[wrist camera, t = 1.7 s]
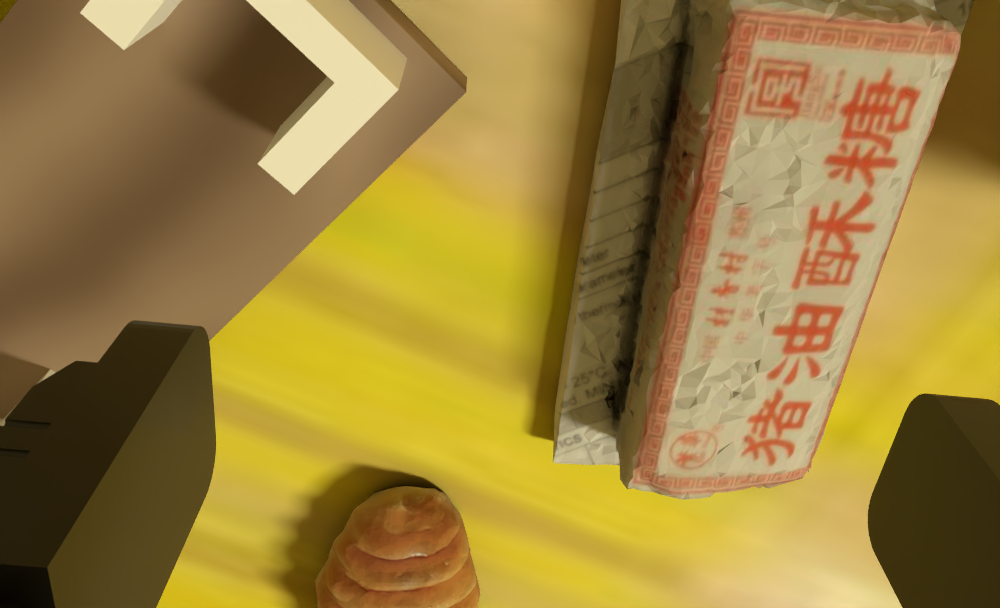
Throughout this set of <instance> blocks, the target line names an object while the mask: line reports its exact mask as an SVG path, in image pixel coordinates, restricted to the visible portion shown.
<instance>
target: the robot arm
mask: <svg viewBox="0 0 1000 608" xmlns="http://www.w3.org/2000/svg"><path fill="white" fill-rule="evenodd" d="M215 453H216V432H215V417H214V402H213V388H212V373H211V358H210V345H209V339H208V335H207V332H206V330H205V328H204V327H202V326H194V325H183V324H172V323H161V322H150V321H139V320H133V321H131V322H129V323H128V324H127V325H126V326H125V327H124V329H123V330H122V331H121V332H120V334H119V335H118V336H117V338H116V339H115V340H114V342H113V343H112V344H111V346H110V347H109V348H108V350H107V351H106V352H105V353H104V355H103V356H102V357H101V359H100V360H99V361H98V363H97V362H86V361H74V362H73V363H71V364H69V365H68V366H66V367H64V368H63V369H61V370H59V371H58V372H56V373H54V374H53V375H51V376H49V377H48V378H46V379H44V380H43V381H41V382H39V383H38V384H36V385H34V386H33V387H32V388H31V389H30V390H29V391H28V393H27V394H26V395H25V396H24V397H23V399H22V400H21V401H20V402H19V403H18V404H17V406H16V407H15V408H14V409H13V410H12V412H11V413H10V414H9V415H8V416H7V417H6V419H5V425H4V426H0V608H156V607H157V604H158V602H159V600H160V598H161V595H162V593H163V591H164V589H165V586H166V584H167V582H168V580H169V577H170V575H171V573H172V571H173V569H174V566H175V564H176V562H177V560H178V557H179V555H180V553H181V551H182V548H183V546H184V544H185V542H186V539H187V537H188V535H189V533H190V530H191V528H192V526H193V524H194V522H195V519H196V517H197V515H198V513H199V510H200V508H201V506H202V504H203V501H204V499H205V497H206V494H207V492H208V489H209V486H210V482H211V478H212V474H213V468H214V462H215ZM868 530H869V537H870V541H871V545H872V548H873V550H874V552H875V555H876V557H877V559H878V561H879V562H880V564H881V566H882V568H883V570H884V572H885V574H886V576H887V578H888V580H889V582H890V584H891V586H892V588H893V590H894V592H895V594H896V596H897V598H898V600H899V602H900V604H901V606H902V607H903V608H1000V405H999V404H998V403H996V402H994V401H992V400H989V399H980V398H969V397H958V396H947V395H936V394H921V395H919V396H917V397H916V398H914V399H913V400H912V402H911V403H910V404H909V406H908V408H907V410H906V412H905V414H904V417H903V419H902V422H901V424H900V427H899V429H898V432H897V434H896V436H895V439H894V441H893V444H892V446H891V449H890V451H889V454H888V456H887V459H886V461H885V464H884V466H883V469H882V471H881V473H880V476H879V478H878V481H877V483H876V486H875V488H874V491H873V493H872V496H871V499H870V504H869V510H868Z"/></svg>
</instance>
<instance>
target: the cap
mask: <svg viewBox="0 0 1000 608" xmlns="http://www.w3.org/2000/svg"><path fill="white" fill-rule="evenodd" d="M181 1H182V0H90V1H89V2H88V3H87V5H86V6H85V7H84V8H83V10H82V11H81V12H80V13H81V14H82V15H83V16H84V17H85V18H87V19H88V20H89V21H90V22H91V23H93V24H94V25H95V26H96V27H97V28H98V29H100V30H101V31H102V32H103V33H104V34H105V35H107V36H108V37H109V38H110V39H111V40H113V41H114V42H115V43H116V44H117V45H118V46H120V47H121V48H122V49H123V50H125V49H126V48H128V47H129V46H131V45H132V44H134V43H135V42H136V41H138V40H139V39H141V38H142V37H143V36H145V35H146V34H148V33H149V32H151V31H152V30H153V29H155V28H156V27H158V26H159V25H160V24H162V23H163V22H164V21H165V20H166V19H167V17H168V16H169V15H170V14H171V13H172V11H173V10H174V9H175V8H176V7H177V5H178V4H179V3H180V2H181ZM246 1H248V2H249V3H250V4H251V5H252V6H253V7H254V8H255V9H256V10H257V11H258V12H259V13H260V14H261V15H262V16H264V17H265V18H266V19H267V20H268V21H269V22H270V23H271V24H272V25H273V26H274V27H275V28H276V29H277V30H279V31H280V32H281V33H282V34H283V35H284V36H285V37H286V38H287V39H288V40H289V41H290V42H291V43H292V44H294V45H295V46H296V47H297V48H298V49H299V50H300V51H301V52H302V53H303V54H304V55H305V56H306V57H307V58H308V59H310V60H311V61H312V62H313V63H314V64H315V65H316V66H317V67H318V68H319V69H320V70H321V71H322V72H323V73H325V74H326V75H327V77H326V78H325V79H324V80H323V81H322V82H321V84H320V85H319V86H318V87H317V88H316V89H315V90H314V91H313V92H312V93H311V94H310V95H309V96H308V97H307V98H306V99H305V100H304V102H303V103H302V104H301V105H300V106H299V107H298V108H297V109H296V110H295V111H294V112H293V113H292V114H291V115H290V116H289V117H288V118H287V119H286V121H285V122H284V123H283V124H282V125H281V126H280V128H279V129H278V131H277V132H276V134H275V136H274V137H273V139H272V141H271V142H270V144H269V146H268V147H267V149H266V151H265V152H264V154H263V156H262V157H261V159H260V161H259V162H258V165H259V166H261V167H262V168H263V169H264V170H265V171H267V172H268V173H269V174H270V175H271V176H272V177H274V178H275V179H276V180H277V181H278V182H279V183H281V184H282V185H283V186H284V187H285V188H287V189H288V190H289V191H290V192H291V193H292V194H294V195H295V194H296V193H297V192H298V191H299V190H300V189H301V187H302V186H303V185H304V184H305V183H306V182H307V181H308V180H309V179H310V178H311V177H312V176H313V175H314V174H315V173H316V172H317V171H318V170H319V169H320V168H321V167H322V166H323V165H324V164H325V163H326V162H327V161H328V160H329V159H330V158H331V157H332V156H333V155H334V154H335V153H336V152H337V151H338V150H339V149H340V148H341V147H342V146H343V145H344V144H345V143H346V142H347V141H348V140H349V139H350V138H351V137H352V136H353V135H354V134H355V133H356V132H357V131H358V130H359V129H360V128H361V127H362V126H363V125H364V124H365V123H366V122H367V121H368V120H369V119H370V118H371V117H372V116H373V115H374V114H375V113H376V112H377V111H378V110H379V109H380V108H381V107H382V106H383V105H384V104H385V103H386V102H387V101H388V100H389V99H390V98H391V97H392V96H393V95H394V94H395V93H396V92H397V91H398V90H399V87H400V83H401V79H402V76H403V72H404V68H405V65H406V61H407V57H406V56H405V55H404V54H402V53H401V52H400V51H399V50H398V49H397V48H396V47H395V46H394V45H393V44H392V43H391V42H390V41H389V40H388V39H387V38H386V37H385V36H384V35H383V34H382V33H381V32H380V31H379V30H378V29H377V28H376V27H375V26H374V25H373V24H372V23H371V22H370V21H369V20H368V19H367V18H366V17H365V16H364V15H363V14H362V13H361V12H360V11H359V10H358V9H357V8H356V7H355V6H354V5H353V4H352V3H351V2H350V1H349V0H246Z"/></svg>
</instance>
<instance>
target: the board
mask: <svg viewBox="0 0 1000 608" xmlns="http://www.w3.org/2000/svg"><path fill="white" fill-rule="evenodd" d="M89 1H90V0H17V1H16V2H15V4H14V5H13V6H12V8H11V9H10V11H9V12H8V13H7V15H6V16H5V17H4V19H3V20H2V21H1V23H0V418H1V419H2V420H3V419H4V418H5V417H6V416H7V414H8V413H9V412H10V411H11V410H12V409H13V408H14V407H15V406H16V405H17V404H18V403H19V402H20V401H21V400H22V399H23V397H24V396H25V395H26V394H27V393H28V391H29V390H30V389H31V388H32V387H33V386H34V385H36V384H37V383H38V382H39V381H40V380H41V379H42V377H43V376H44V375H45V374H46V373H47V372H48V371H49V370H50V369H51V370H53V371H54V372H58V371H59V370H61V369H63V368H64V367H66V366H68V365H69V364H71V363H73V362H74V361H86V362H97V363H98V361H99V360H100V359H101V357H102V356H103V355H104V353H105V352H106V351H107V350H108V348H109V347H110V346H111V344H112V343H113V342H114V340H115V339H116V338H117V336H118V335H119V334H120V332H121V331H122V330H123V329H124V327H125V326H126V325H127V324H128V323H129V322H131V321H133V320H139V321H150V322H161V323H172V324H183V325H194V326H202V327H204V328H205V330H206V332H207V335H208V339H209V341H210V340H211V339H212V338H213V337H214V336H215V335H216V334H217V333H218V332H219V331H220V330H221V329H222V328H223V327H224V326H225V325H226V324H227V323H228V322H229V321H230V320H231V319H232V318H233V317H234V316H235V315H236V314H238V313H239V312H240V311H241V310H242V309H243V308H244V307H245V306H246V305H247V304H248V303H249V302H250V301H251V300H252V299H253V298H254V297H255V296H256V295H257V294H258V293H259V292H260V291H261V290H262V289H263V288H264V287H265V286H266V285H267V284H268V283H270V282H271V281H272V280H273V279H274V278H275V277H276V276H277V275H278V274H279V273H280V272H281V271H282V270H283V269H284V268H285V267H286V266H287V265H288V264H289V263H290V262H291V261H292V260H293V259H294V258H295V257H296V256H297V255H298V254H299V253H300V252H302V251H303V250H304V249H305V248H306V247H307V246H308V245H309V244H310V243H311V242H312V241H313V240H314V239H315V238H316V237H317V236H318V235H319V234H320V233H321V232H322V231H323V230H324V229H325V228H326V227H327V226H328V225H329V224H330V223H331V222H332V221H334V220H335V219H336V218H337V217H338V216H339V215H340V214H341V213H342V212H343V211H344V210H345V209H346V208H347V207H348V206H349V205H350V204H351V203H352V202H353V201H354V200H355V199H356V198H357V197H358V196H359V195H360V194H361V193H362V192H363V191H364V190H366V189H367V188H368V187H369V186H370V185H371V184H372V183H373V182H374V181H375V180H376V179H377V178H378V177H379V176H380V175H381V174H382V173H383V172H384V171H385V170H386V169H387V168H388V167H389V166H390V165H391V164H392V163H393V162H394V161H395V160H396V159H398V158H399V157H400V156H401V155H402V154H403V153H404V152H405V151H406V150H407V149H408V148H409V147H410V146H411V145H412V144H413V143H414V142H415V141H416V140H417V139H418V138H419V137H420V136H421V135H422V134H423V133H424V132H425V131H426V130H427V129H429V128H430V127H431V126H432V125H433V124H434V123H435V122H436V121H437V120H438V119H439V118H440V117H441V116H442V115H443V114H444V113H445V112H446V111H447V110H448V109H449V108H450V107H451V106H452V105H453V104H454V103H455V102H456V101H457V100H458V99H459V98H461V97H462V96H463V95H464V94H465V93H466V83H467V77H466V76H465V75H464V74H463V73H462V72H461V71H460V70H459V69H458V68H457V67H456V66H455V65H454V64H453V63H452V62H451V61H450V60H449V59H448V58H447V57H446V56H445V55H444V54H443V53H442V52H441V51H440V50H439V49H438V48H437V47H436V46H435V45H434V44H433V43H432V42H431V41H430V40H429V39H428V37H427V36H426V35H425V34H424V33H423V32H422V31H421V30H420V29H419V28H418V27H417V26H416V25H415V24H414V23H413V22H412V21H411V20H410V19H409V18H408V17H407V16H406V15H405V14H404V13H403V12H402V11H401V10H400V9H399V8H398V7H397V6H396V5H395V4H394V3H393V2H392V1H391V0H349V1H350V2H351V3H352V4H353V5H354V6H355V7H356V8H357V9H358V10H359V11H360V12H361V13H362V14H363V15H364V16H365V17H366V18H367V19H368V20H369V21H370V22H371V23H372V24H373V25H374V26H375V27H376V28H377V29H378V30H379V31H380V32H381V33H382V34H383V35H384V36H385V37H386V38H387V39H388V40H389V41H390V42H391V43H392V44H393V45H394V46H395V47H396V48H397V49H398V50H399V51H400V52H401V53H402V54H404V55H405V56H406V57H407V61H406V65H405V68H404V72H403V76H402V79H401V83H400V87H399V90H398V91H397V92H396V93H395V94H394V95H393V96H392V97H391V98H390V99H389V100H388V101H387V102H386V103H385V104H384V105H383V106H382V107H381V108H380V109H379V110H378V111H377V112H376V113H375V114H374V115H373V116H372V117H371V118H370V119H369V120H368V121H367V122H366V123H365V124H364V125H363V126H362V127H361V128H360V129H359V130H358V131H357V132H356V133H355V134H354V135H353V136H352V137H351V138H350V139H349V140H348V141H347V142H346V143H345V144H344V145H343V146H342V147H341V148H340V149H339V150H338V151H337V152H336V153H335V154H334V155H333V156H332V157H331V158H330V159H329V160H328V161H327V162H326V163H325V164H324V165H323V166H322V167H321V168H320V169H319V170H318V171H317V172H316V173H315V174H314V175H313V176H312V177H311V178H310V179H309V180H308V181H307V182H306V183H305V184H304V185H303V186H302V187H301V189H300V190H299V191H298V192H297V193H296V194H295V195H294V194H292V193H291V192H290V191H289V190H288V189H287V188H285V187H284V186H283V185H282V184H281V183H279V182H278V181H277V180H276V179H275V178H274V177H272V176H271V175H270V174H269V173H268V172H267V171H265V170H264V169H263V168H262V167H261V166H259V165H258V162H259V161H260V159H261V157H262V156H263V154H264V152H265V151H266V149H267V147H268V146H269V144H270V142H271V141H272V139H273V137H274V136H275V134H276V132H277V131H278V129H279V128H280V126H281V125H282V124H283V123H284V122H285V121H286V119H287V118H288V117H289V116H290V115H291V114H292V113H293V112H294V111H295V110H296V109H297V108H298V107H299V106H300V105H301V104H302V103H303V102H304V100H305V99H306V98H307V97H308V96H309V95H310V94H311V93H312V92H313V91H314V90H315V89H316V88H317V87H318V86H319V85H320V84H321V82H322V81H323V80H324V79H325V78H326V77H327V75H326V74H325V73H323V72H322V71H321V70H320V69H319V68H318V67H317V66H316V65H315V64H314V63H313V62H312V61H311V60H310V59H308V58H307V57H306V56H305V55H304V54H303V53H302V52H301V51H300V50H299V49H298V48H297V47H296V46H295V45H294V44H292V43H291V42H290V41H289V40H288V39H287V38H286V37H285V36H284V35H283V34H282V33H281V32H280V31H279V30H277V29H276V28H275V27H274V26H273V25H272V24H271V23H270V22H269V21H268V20H267V19H266V18H265V17H264V16H262V15H261V14H260V13H259V12H258V11H257V10H256V9H255V8H254V7H253V6H252V5H251V4H250V3H249V2H248V1H246V0H182V1H181V2H180V3H179V4H178V5H177V7H176V8H175V9H174V10H173V11H172V13H171V14H170V15H169V16H168V17H167V19H166V20H165V21H164V22H163V23H162V24H160V25H159V26H158V27H156V28H155V29H153V30H152V31H151V32H149V33H148V34H146V35H145V36H143V37H142V38H141V39H139V40H138V41H136V42H135V43H134V44H132V45H131V46H129V47H128V48H126V49H125V50H123V49H122V48H121V47H120V46H118V45H117V44H116V43H115V42H114V41H113V40H111V39H110V38H109V37H108V36H107V35H105V34H104V33H103V32H102V31H101V30H100V29H98V28H97V27H96V26H95V25H94V24H93V23H91V22H90V21H89V20H88V19H87V18H85V17H84V16H83V15H82V14H81V13H80V12H81V11H82V10H83V8H84V7H85V6H86V5H87V3H88V2H89Z"/></svg>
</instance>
